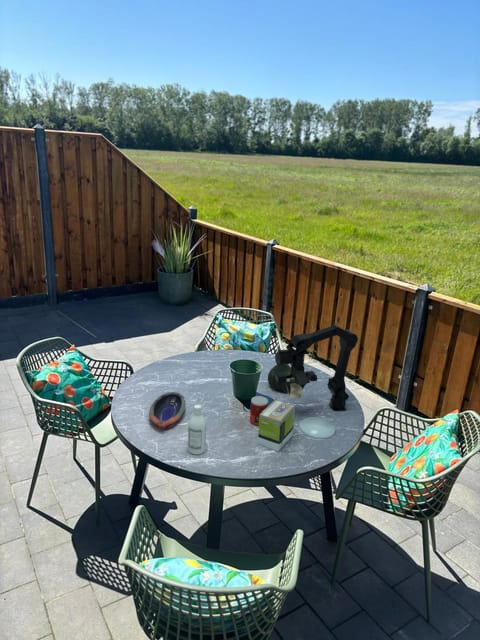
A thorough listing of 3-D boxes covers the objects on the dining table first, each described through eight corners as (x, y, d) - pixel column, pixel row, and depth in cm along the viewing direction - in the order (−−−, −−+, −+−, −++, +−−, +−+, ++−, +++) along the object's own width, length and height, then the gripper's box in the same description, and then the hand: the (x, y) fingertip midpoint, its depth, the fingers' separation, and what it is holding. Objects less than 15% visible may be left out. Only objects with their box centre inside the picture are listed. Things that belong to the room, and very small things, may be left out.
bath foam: (196, 442, 189) (197, 400, 183) (208, 449, 185) (210, 406, 179) (184, 450, 184) (185, 406, 178) (196, 457, 180) (197, 412, 174)
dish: (190, 400, 223) (190, 391, 222) (176, 435, 194) (176, 425, 192) (159, 397, 224) (159, 388, 223) (141, 432, 195) (140, 422, 194)
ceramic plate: (327, 418, 213) (327, 416, 213) (340, 437, 199) (341, 435, 198) (294, 420, 210) (294, 418, 210) (306, 440, 195) (306, 437, 195)
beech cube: (297, 392, 215) (298, 383, 214) (301, 397, 211) (302, 387, 209) (287, 393, 214) (288, 383, 213) (290, 398, 210) (291, 388, 208)
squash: (278, 389, 227) (293, 363, 230) (258, 378, 238) (273, 354, 241) (291, 400, 236) (306, 376, 239) (272, 390, 247) (286, 366, 250)
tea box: (272, 428, 203) (275, 398, 198) (293, 435, 198) (296, 405, 194) (256, 444, 191) (259, 413, 186) (278, 452, 186) (281, 420, 181)
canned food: (255, 427, 202) (256, 406, 199) (246, 419, 209) (247, 397, 206) (269, 424, 206) (271, 402, 202) (261, 415, 213) (262, 394, 209)
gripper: (282, 371, 198) (280, 403, 203) (323, 369, 202) (319, 400, 207) (275, 360, 208) (273, 391, 213) (314, 359, 212) (311, 389, 217)
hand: (294, 393), depth 212 cm, fingers closed on beech cube, 5 cm apart
